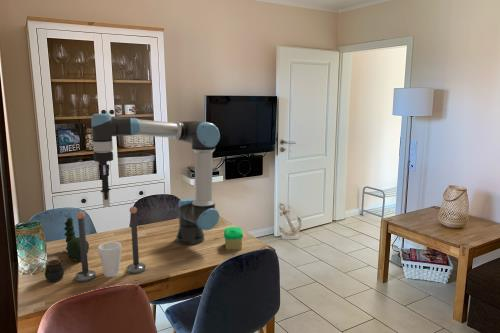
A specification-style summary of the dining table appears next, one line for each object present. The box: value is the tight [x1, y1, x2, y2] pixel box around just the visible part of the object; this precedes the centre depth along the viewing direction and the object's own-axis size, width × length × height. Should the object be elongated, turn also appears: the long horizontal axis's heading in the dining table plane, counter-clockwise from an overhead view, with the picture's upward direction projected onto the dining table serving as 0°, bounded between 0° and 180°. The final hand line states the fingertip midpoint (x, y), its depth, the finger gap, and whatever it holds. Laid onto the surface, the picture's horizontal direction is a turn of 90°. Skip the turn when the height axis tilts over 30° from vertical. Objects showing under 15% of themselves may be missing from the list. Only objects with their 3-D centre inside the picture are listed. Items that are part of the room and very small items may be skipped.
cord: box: [129, 206, 140, 266], centre depth 168 cm, size 3×3×28 cm
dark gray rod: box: [76, 211, 89, 274], centre depth 161 cm, size 3×3×28 cm
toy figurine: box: [63, 216, 90, 262], centre depth 183 cm, size 9×19×25 cm
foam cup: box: [97, 241, 123, 278], centre depth 166 cm, size 10×9×13 cm
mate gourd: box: [44, 258, 65, 283], centre depth 161 cm, size 7×8×10 cm
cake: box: [223, 226, 244, 250], centre depth 197 cm, size 10×11×10 cm
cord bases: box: [74, 262, 146, 283], centre depth 167 cm, size 29×8×2 cm, turn 111°
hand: (106, 206), depth 161 cm, fingers closed
